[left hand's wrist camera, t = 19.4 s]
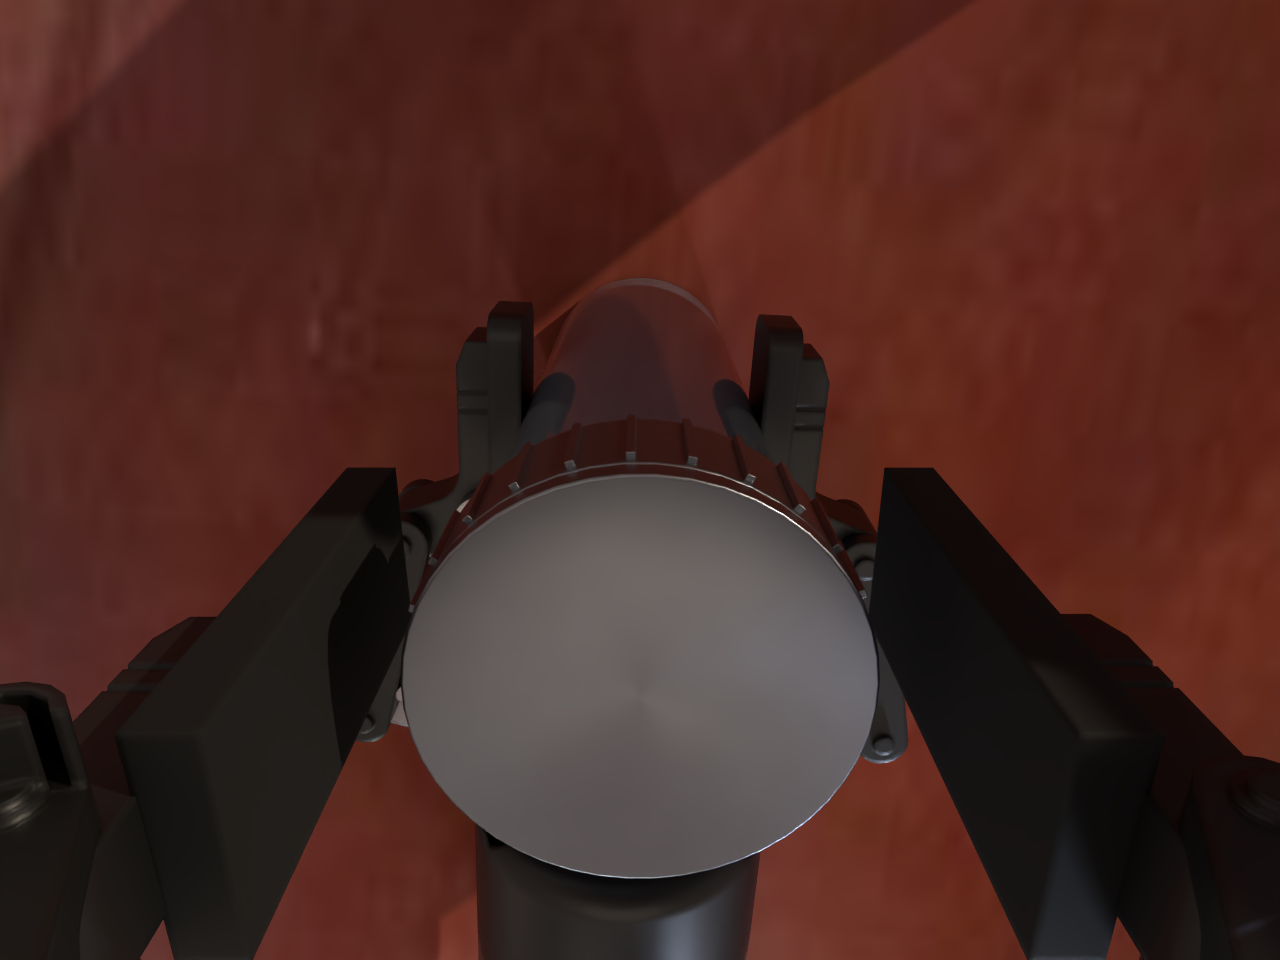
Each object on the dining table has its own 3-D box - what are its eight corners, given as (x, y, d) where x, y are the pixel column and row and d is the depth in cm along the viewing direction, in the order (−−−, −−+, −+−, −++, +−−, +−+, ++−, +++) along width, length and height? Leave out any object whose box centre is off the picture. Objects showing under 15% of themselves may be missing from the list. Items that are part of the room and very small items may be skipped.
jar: (582, 252, 24) (498, 426, 10) (751, 310, 25) (903, 551, 10) (532, 417, 26) (402, 766, 12) (692, 467, 26) (754, 857, 12)
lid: (758, 819, 14) (777, 927, 12) (388, 720, 13) (346, 818, 11) (919, 491, 12) (974, 559, 10) (492, 352, 11) (461, 397, 9)
